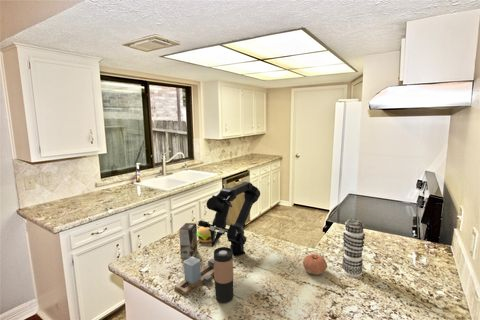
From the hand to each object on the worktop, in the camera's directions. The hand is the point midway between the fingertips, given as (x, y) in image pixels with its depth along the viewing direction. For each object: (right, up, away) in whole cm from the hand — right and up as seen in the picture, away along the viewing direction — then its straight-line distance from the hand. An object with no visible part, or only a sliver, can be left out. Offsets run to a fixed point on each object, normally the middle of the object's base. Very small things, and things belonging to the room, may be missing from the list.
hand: (212, 246), depth 124 cm
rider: (-8, -14, -8) cm, 18 cm away
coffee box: (-14, -10, +18) cm, 25 cm away
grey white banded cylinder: (+66, -12, -1) cm, 67 cm away
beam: (-4, -13, -5) cm, 15 cm away
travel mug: (+7, -15, -17) cm, 24 cm away
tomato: (+48, -12, -1) cm, 50 cm away
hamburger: (-7, -8, +35) cm, 37 cm away
